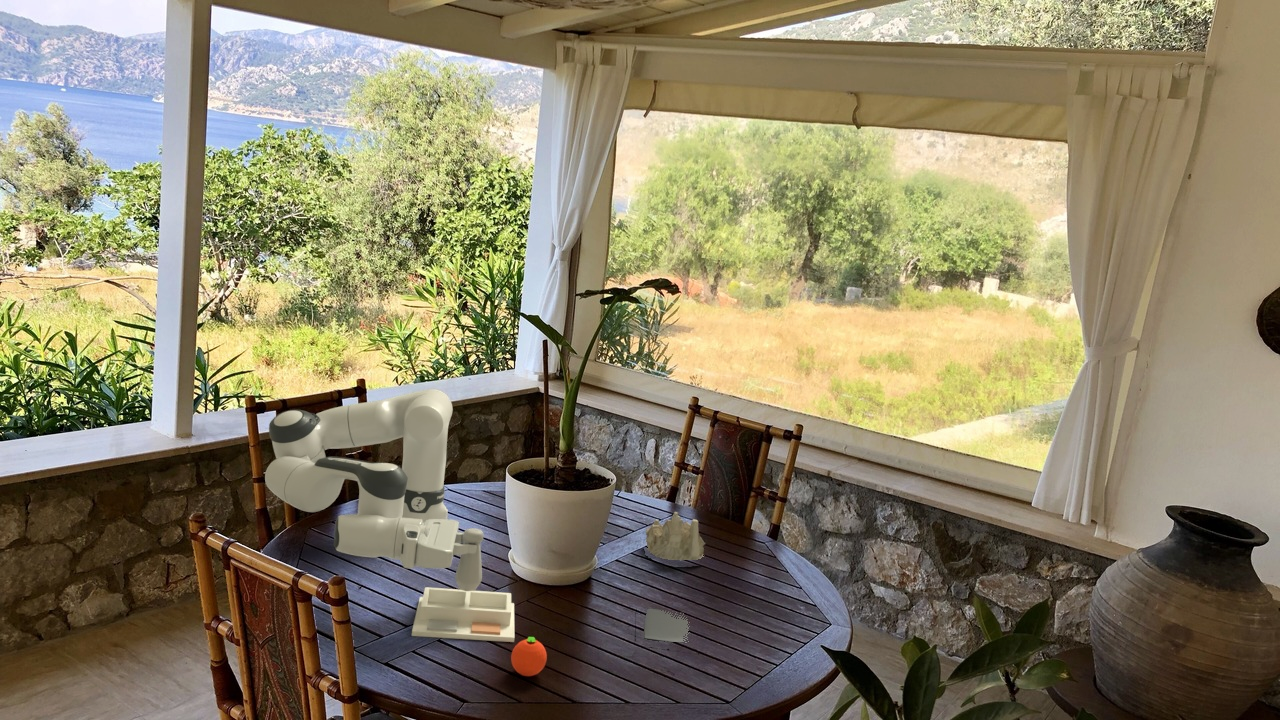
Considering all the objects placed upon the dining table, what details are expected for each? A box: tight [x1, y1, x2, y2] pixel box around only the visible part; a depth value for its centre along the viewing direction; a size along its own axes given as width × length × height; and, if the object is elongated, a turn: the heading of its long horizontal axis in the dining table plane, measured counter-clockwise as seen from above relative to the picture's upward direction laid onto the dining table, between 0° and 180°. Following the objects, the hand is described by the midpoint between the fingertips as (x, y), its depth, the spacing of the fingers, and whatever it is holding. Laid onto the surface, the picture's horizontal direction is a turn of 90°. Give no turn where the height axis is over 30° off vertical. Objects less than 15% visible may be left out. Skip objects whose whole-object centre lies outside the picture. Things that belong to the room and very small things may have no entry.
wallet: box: [644, 608, 690, 643], centre depth 207 cm, size 20×2×15 cm
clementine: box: [510, 636, 548, 677], centre depth 179 cm, size 8×7×7 cm
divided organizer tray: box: [411, 586, 515, 643], centre depth 197 cm, size 17×21×4 cm
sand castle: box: [644, 511, 706, 561], centre depth 253 cm, size 16×16×15 cm
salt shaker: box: [454, 527, 485, 591], centre depth 197 cm, size 6×6×13 cm
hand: (477, 545), depth 196 cm, fingers closed on salt shaker, 3 cm apart
